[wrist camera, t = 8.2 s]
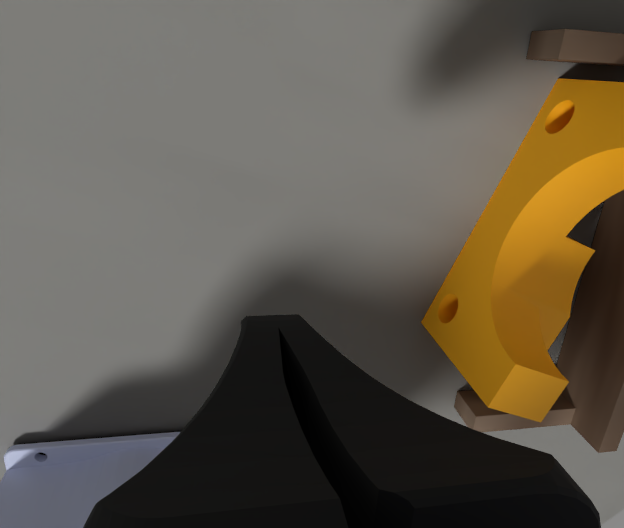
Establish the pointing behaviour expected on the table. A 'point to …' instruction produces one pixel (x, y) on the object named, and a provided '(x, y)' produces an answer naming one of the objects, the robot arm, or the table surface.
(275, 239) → the table surface
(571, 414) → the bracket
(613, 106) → the pipe clamp
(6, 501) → the robot arm
